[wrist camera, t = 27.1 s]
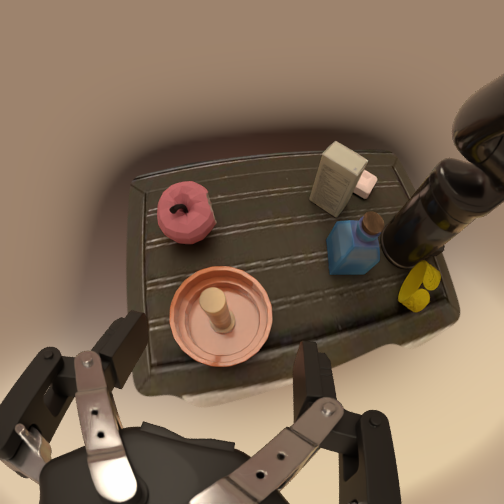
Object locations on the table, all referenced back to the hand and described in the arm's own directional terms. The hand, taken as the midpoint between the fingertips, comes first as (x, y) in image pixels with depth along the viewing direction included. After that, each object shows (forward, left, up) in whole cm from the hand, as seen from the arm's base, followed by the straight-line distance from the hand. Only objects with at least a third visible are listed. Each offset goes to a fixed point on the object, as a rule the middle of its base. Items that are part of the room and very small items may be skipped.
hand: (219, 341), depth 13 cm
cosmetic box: (-17, -26, -27) cm, 41 cm away
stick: (+2, -5, -26) cm, 27 cm away
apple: (+7, -20, -27) cm, 35 cm away
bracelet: (-31, -6, -24) cm, 40 cm away
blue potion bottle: (-18, -15, -27) cm, 36 cm away
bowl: (+2, -5, -27) cm, 28 cm away
